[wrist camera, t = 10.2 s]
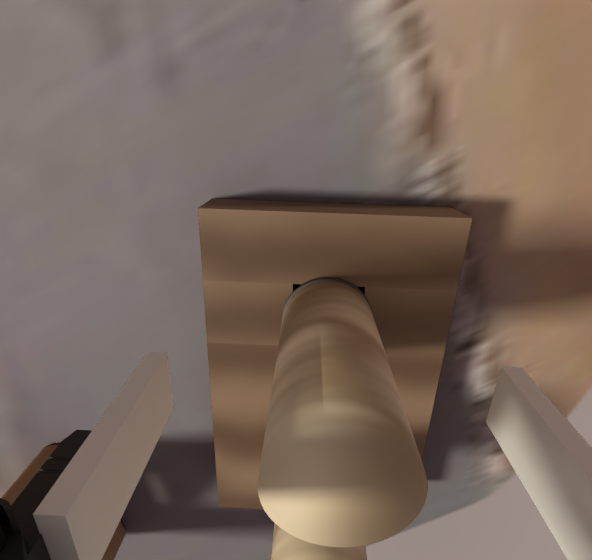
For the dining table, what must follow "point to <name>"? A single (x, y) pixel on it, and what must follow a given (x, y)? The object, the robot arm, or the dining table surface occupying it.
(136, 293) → the dining table surface
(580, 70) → the dining table surface
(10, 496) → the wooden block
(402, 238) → the walnut board
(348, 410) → the beech peg
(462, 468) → the dining table surface
